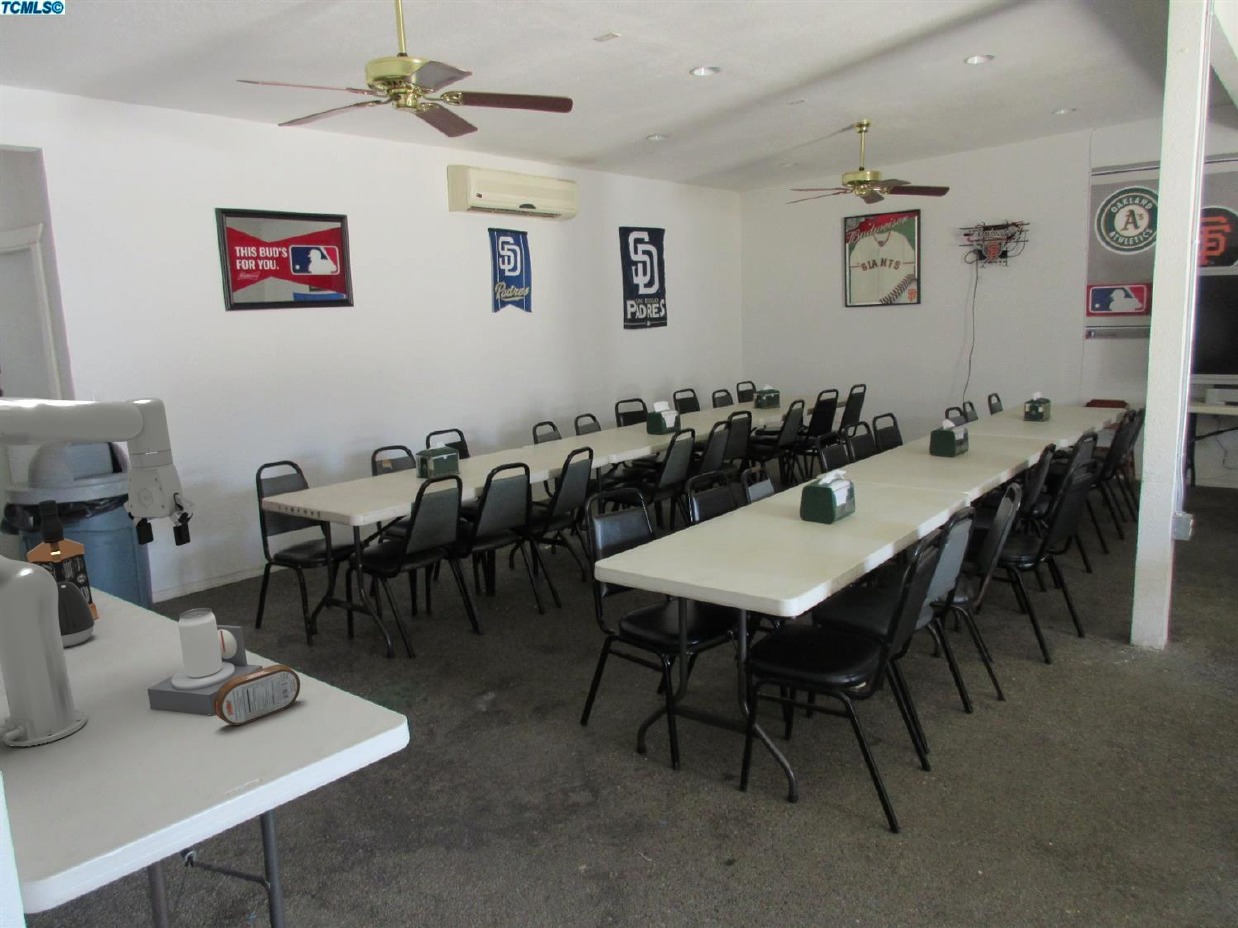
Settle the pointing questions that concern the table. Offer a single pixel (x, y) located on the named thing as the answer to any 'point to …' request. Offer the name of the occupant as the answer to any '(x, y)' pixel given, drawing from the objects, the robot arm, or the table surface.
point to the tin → (256, 694)
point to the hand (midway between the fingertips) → (164, 543)
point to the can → (200, 643)
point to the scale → (201, 691)
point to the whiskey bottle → (61, 553)
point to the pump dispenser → (73, 614)
